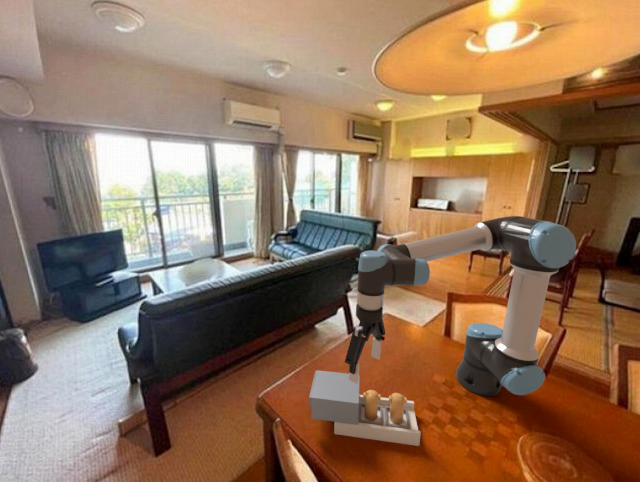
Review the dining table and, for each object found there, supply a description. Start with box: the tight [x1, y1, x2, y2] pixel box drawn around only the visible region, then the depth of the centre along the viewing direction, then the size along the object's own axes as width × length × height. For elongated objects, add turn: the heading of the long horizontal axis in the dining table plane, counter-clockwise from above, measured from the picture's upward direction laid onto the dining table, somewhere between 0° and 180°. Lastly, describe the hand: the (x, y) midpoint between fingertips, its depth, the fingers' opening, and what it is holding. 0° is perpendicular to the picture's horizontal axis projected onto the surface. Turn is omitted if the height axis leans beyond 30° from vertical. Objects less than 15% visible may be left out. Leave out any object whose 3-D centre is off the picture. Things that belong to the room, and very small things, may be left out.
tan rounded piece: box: [362, 389, 382, 421], centre depth 88 cm, size 5×4×8 cm
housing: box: [333, 394, 422, 447], centre depth 89 cm, size 25×12×4 cm, turn 81°
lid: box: [308, 369, 360, 425], centre depth 90 cm, size 15×12×8 cm
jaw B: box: [388, 392, 408, 425], centre depth 87 cm, size 5×4×8 cm
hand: (365, 368), depth 85 cm, fingers open, 13 cm apart
